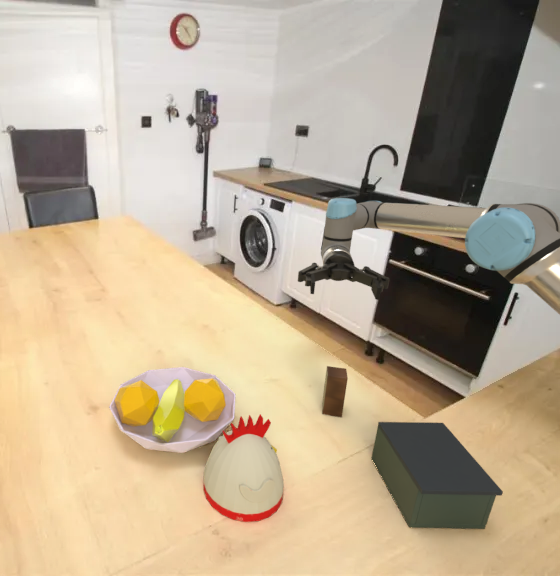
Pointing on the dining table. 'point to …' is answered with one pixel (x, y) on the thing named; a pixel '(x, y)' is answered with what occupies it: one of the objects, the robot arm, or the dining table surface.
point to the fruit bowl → (173, 409)
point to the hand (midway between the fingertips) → (345, 291)
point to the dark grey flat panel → (437, 459)
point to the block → (334, 391)
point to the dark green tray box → (428, 496)
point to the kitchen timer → (244, 473)
